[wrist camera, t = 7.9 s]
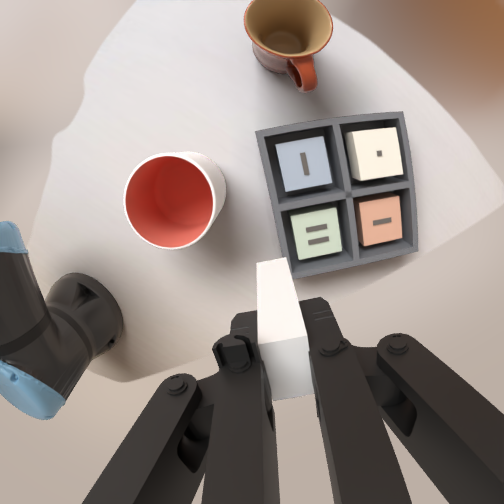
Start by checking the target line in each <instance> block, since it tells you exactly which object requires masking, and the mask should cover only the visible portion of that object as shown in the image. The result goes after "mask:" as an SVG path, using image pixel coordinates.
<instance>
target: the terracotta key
mask: <svg viewBox="0 0 504 504" xmlns="http://www.w3.org/2000/svg"><path fill="white" fill-rule="evenodd" d="M353 205H354V212H355V220H356V228H357V237H358V241H359V242H360V243H361V244H362V245H363V246H368V245H372V244H377V243H381V242H386V241H390V240H395V239H400V238H402V225H401V212H400V200H399V196H398V195H395V194H393V193H390V192H385V193H379V194H373V195H367V196H362V197H356V198H353Z"/></svg>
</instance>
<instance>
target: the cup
mask: <svg viewBox="0 0 504 504" xmlns="http://www.w3.org/2000/svg"><path fill="white" fill-rule="evenodd" d="M225 198H226V183H225V179H224V176H223V174H222V172H221V170H220V169H219V167H218V166H217V165H216V164H215V163H214V162H213V161H212V160H211V159H209V158H208V157H206V156H204V155H202V154H199V153H195V152H175V153H162V154H157V155H154V156H151V157H149V158H147V159H146V160H144V161H143V162H141V163H140V164H139V165H138V166H137V167H136V168H135V169H134V170H133V172H132V173H131V175H130V177H129V179H128V181H127V183H126V186H125V190H124V210H125V214H126V217H127V220H128V222H129V224H130V226H131V227H132V229H133V230H134V232H135V233H136V234H137V235H138V236H139V237H140V238H141V239H142V240H144V241H145V242H147V243H148V244H150V245H152V246H154V247H157V248H161V249H166V250H177V249H182V248H186V247H188V246H191V245H192V244H194V243H196V242H197V241H199V240H200V239H201V238H202V237H203V236H204V235H205V234H206V233H207V231H208V230H209V228H210V227H211V225H212V224H213V222H214V220H215V219H216V217H217V216H218V214H219V212H220V211H221V209H222V207H223V205H224V202H225Z"/></svg>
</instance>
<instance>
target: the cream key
mask: <svg viewBox="0 0 504 504" xmlns="http://www.w3.org/2000/svg"><path fill="white" fill-rule="evenodd" d="M344 136H345V141H346V146H347V151H348V157H349V162H350V168H351V174H352V178H355V179H358V180H361V181H362V180H368V179H374V178H381V177H387V176H394V175H401V174H403V169H402V162H401V155H400V149H399V142H398V137H397V131H396V127H393V128H382V129H373V130H364V131H355V132H348V133H344Z"/></svg>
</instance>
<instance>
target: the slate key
mask: <svg viewBox="0 0 504 504" xmlns="http://www.w3.org/2000/svg"><path fill="white" fill-rule="evenodd" d="M274 147H275V152H276V156H277V161H278V165H279V170H280V174H281V179H282V184H283V188H284V190H285V191H286V192H287V191H292V190H297V189H302V188H307V187H313V186H318V185H324V184H329V183H332V179H331V174H330V168H329V163H328V158H327V153H326V148H325V143H324V138H323V136H321V137H315V138H308V139H303V140H297V141H291V142H286V143H281V144H276V145H274Z"/></svg>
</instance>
